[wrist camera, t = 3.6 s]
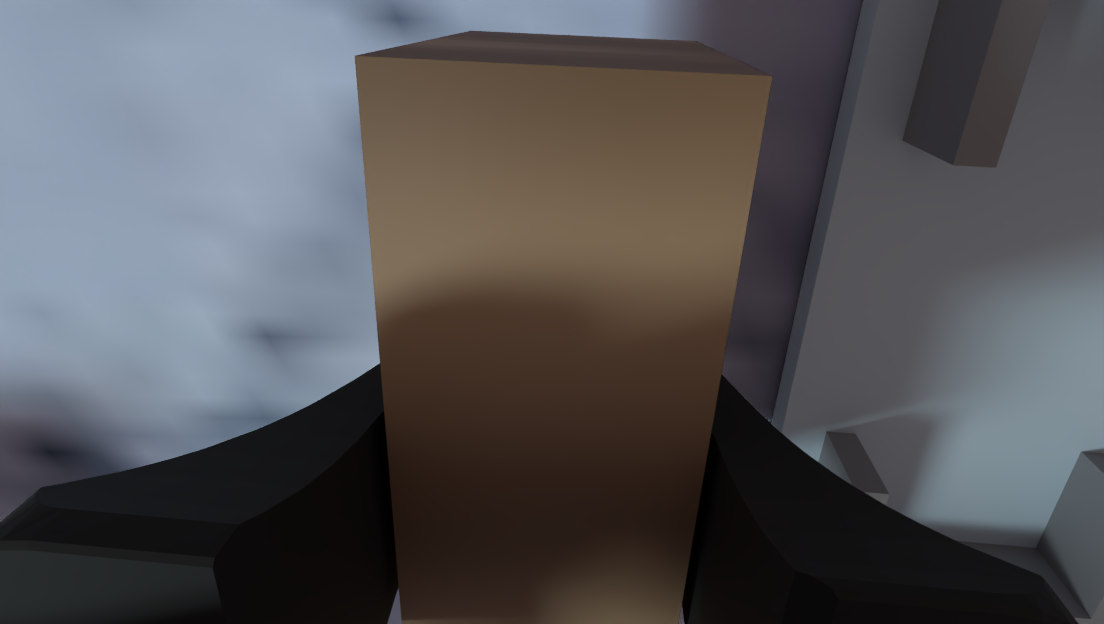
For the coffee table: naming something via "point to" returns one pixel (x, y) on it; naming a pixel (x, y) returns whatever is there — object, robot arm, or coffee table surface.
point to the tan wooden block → (552, 312)
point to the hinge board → (965, 283)
